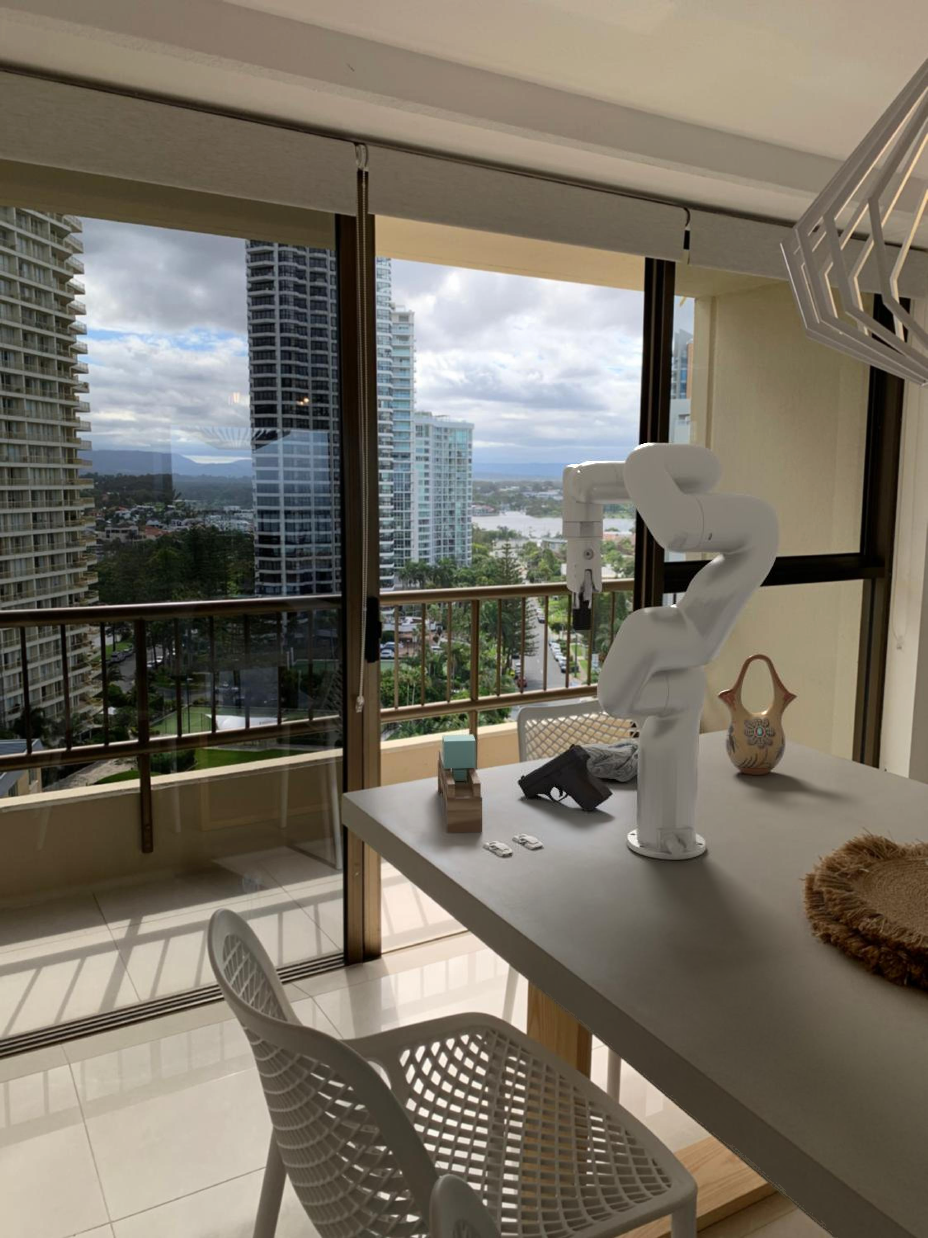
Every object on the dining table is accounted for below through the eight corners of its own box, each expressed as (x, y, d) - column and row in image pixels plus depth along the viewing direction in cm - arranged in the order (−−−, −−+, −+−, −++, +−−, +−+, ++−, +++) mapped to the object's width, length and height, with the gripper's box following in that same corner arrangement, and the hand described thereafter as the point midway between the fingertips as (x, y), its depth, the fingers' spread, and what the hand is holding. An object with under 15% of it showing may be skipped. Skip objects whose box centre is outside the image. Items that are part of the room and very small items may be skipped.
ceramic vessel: (785, 766, 195) (789, 649, 192) (801, 778, 186) (807, 656, 183) (708, 767, 195) (712, 650, 192) (721, 779, 186) (725, 657, 183)
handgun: (605, 801, 164) (572, 742, 167) (543, 836, 173) (513, 780, 176) (615, 796, 167) (582, 739, 170) (553, 831, 176) (523, 776, 179)
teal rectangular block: (475, 781, 165) (475, 740, 164) (444, 782, 164) (444, 741, 163) (473, 774, 169) (472, 734, 168) (442, 775, 168) (442, 735, 168)
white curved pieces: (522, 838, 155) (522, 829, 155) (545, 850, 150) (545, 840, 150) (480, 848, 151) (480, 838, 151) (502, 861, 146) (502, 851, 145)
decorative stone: (559, 756, 192) (579, 713, 191) (606, 770, 199) (625, 728, 198) (600, 787, 180) (621, 740, 179) (648, 800, 187) (669, 756, 186)
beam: (483, 831, 157) (483, 784, 156) (446, 833, 157) (446, 785, 156) (469, 788, 181) (468, 747, 180) (437, 789, 180) (436, 748, 179)
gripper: (612, 532, 164) (611, 634, 166) (593, 530, 178) (591, 624, 181) (571, 533, 163) (570, 635, 165) (554, 530, 178) (554, 624, 180)
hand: (581, 629), depth 173 cm, fingers closed
